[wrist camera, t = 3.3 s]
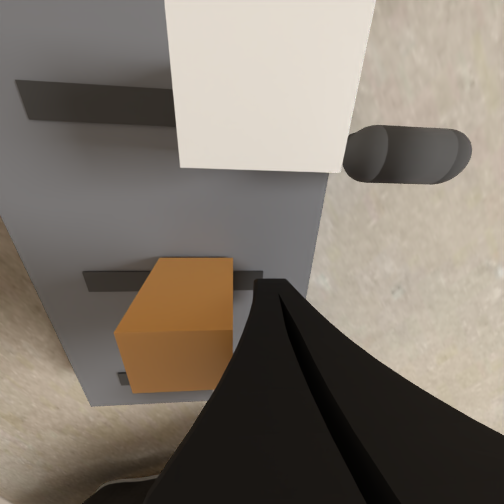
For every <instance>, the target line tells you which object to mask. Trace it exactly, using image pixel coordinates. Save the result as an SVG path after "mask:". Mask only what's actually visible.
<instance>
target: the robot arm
mask: <svg viewBox="0 0 504 504" xmlns="http://www.w3.org/2000/svg"><path fill="white" fill-rule="evenodd" d="M143 504H504V435H502V434H500V433H498V432H496V431H495V430H493V429H491V428H489V427H487V426H485V425H483V424H481V423H479V422H477V421H476V420H474V419H472V418H470V417H469V416H467V415H465V414H463V413H462V412H460V411H458V410H456V409H455V408H453V407H451V406H450V405H448V404H446V403H444V402H443V401H441V400H439V399H438V398H436V397H434V396H432V395H431V394H429V393H428V392H426V391H424V390H423V389H421V388H419V387H418V386H416V385H415V384H413V383H411V382H410V381H408V380H407V379H405V378H404V377H402V376H401V375H399V374H398V373H396V372H395V371H393V370H392V369H390V368H389V367H387V366H386V365H384V364H383V363H381V362H380V361H378V360H377V359H376V358H374V357H373V356H371V355H370V354H369V353H367V352H366V351H365V350H363V349H362V348H361V347H359V346H358V345H357V344H355V343H354V342H353V341H351V340H350V339H349V338H348V337H346V336H345V335H344V334H343V333H342V332H340V331H339V330H338V329H337V328H336V327H335V326H334V325H332V324H331V323H330V322H329V321H328V320H327V319H326V318H324V317H323V316H322V315H321V314H320V313H319V312H318V311H317V310H316V309H315V308H314V307H313V306H312V305H311V304H310V303H309V302H308V301H307V300H306V299H305V298H304V297H303V296H302V295H301V294H300V293H299V292H298V291H297V290H296V289H295V288H294V287H293V285H292V284H291V283H290V282H289V281H288V280H287V279H286V278H265V279H256V280H254V284H253V301H252V305H251V309H250V313H249V316H248V319H247V322H246V324H245V327H244V330H243V333H242V335H241V338H240V340H239V342H238V345H237V347H236V349H235V351H234V353H233V356H232V358H231V360H230V362H229V364H228V366H227V368H226V369H225V371H224V373H223V375H222V377H221V379H220V381H219V383H218V384H217V386H216V388H215V390H214V392H213V393H212V395H211V396H210V398H209V400H208V401H207V403H206V405H205V406H204V408H203V410H202V411H201V413H200V414H199V416H198V418H197V419H196V421H195V423H194V424H193V426H192V427H191V429H190V430H189V432H188V434H187V435H186V437H185V438H184V440H183V441H182V442H181V444H180V445H179V447H178V448H177V450H176V451H175V453H174V454H173V456H172V457H171V458H170V460H169V461H168V463H167V464H166V466H165V467H164V469H163V470H162V472H161V473H160V474H159V476H158V477H157V479H156V480H155V482H154V483H153V485H152V486H151V488H150V489H149V491H148V493H147V495H146V498H145V500H144V502H143Z"/></svg>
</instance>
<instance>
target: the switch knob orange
mask: <svg viewBox="0 0 504 504" xmlns="http://www.w3.org/2000/svg"><path fill="white" fill-rule="evenodd" d="M114 336H115V339H116V342H117V345H118V348H119V352H120V355H121V358H122V361H123V364H124V367H125V370H126V374H127V377H128V380H129V383H130V386H131V389H132V392H133V394H134V393H155V392H176V391H197V390H215V388H216V386H217V384H218V383H219V381H220V379H221V377H222V375H223V373H224V371H225V369H226V368H227V366H228V364H229V362H230V360H231V358H232V356H233V258H159V259H158V261H157V263H156V264H155V266H154V268H153V269H152V271H151V272H150V274H149V276H148V277H147V279H146V281H145V282H144V284H143V286H142V287H141V289H140V290H139V292H138V294H137V295H136V297H135V299H134V300H133V302H132V303H131V305H130V307H129V308H128V310H127V312H126V313H125V315H124V317H123V318H122V320H121V321H120V323H119V325H118V326H117V328H116V330H115V331H114Z"/></svg>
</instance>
